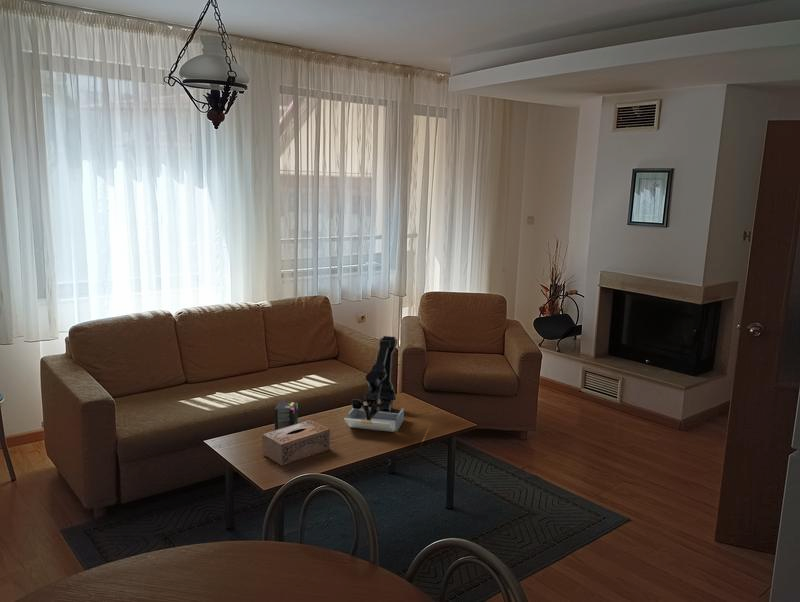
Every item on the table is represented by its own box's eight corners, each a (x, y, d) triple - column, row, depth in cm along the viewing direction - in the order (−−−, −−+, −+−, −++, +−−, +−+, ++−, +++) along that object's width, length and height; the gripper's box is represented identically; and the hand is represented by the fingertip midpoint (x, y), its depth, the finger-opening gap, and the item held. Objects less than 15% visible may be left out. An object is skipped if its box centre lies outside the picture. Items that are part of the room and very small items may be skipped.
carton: (356, 416, 324) (356, 403, 322) (403, 421, 319) (403, 408, 317) (347, 427, 309) (347, 413, 308) (397, 432, 304) (397, 419, 303)
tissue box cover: (310, 440, 294) (310, 419, 292) (329, 449, 284) (329, 428, 282) (262, 455, 276) (262, 434, 274) (281, 466, 266) (281, 444, 264)
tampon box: (294, 439, 294) (293, 409, 291) (274, 438, 294) (273, 409, 291) (298, 430, 304) (298, 401, 302) (279, 429, 304) (279, 401, 302)
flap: (350, 426, 309) (344, 417, 298) (394, 430, 304) (389, 422, 293) (350, 427, 308) (344, 419, 297) (393, 432, 304) (389, 424, 293)
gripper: (352, 382, 301) (345, 412, 293) (390, 386, 297) (384, 416, 289) (356, 393, 311) (350, 422, 302) (393, 396, 307) (388, 426, 298)
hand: (367, 421), depth 298 cm, fingers closed, pressing on flap
